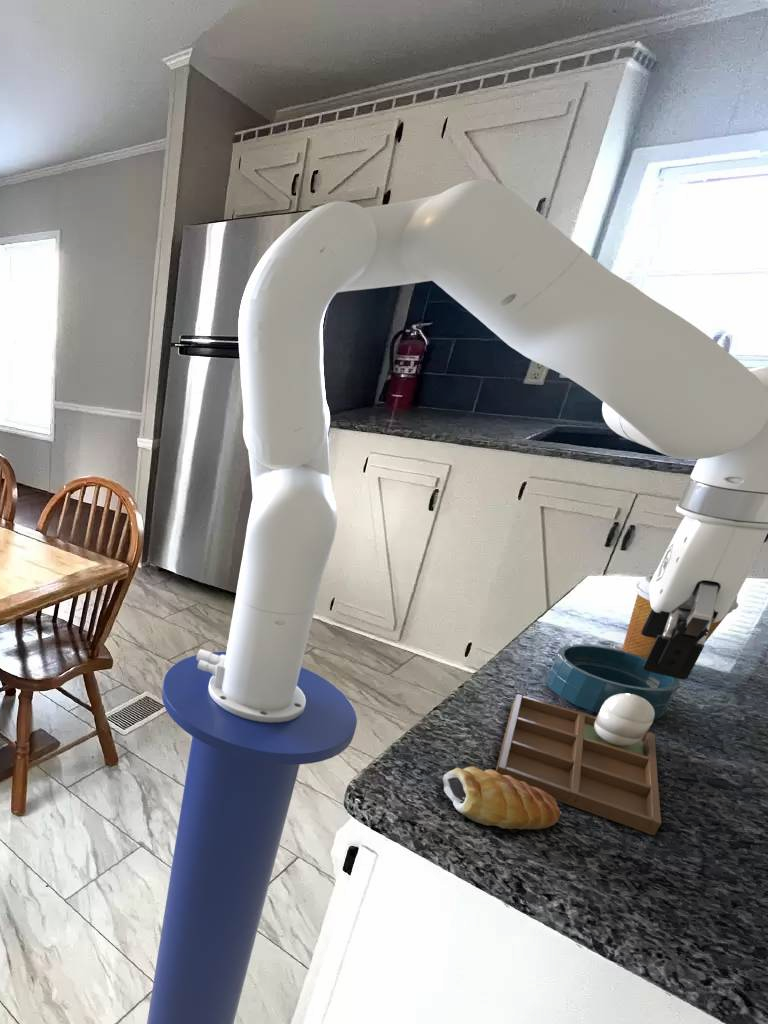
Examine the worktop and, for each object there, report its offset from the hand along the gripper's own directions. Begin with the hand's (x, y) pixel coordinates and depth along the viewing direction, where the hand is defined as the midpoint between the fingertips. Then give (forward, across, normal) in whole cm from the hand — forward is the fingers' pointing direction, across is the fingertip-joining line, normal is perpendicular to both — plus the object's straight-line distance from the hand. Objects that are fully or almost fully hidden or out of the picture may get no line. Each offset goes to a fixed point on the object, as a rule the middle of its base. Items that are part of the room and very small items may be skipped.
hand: (661, 655), depth 68 cm
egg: (+12, 0, 0) cm, 12 cm away
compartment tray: (+12, +6, -4) cm, 14 cm away
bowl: (+12, -12, -2) cm, 17 cm away
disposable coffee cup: (+13, -28, +4) cm, 31 cm away
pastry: (+12, +21, -10) cm, 26 cm away
